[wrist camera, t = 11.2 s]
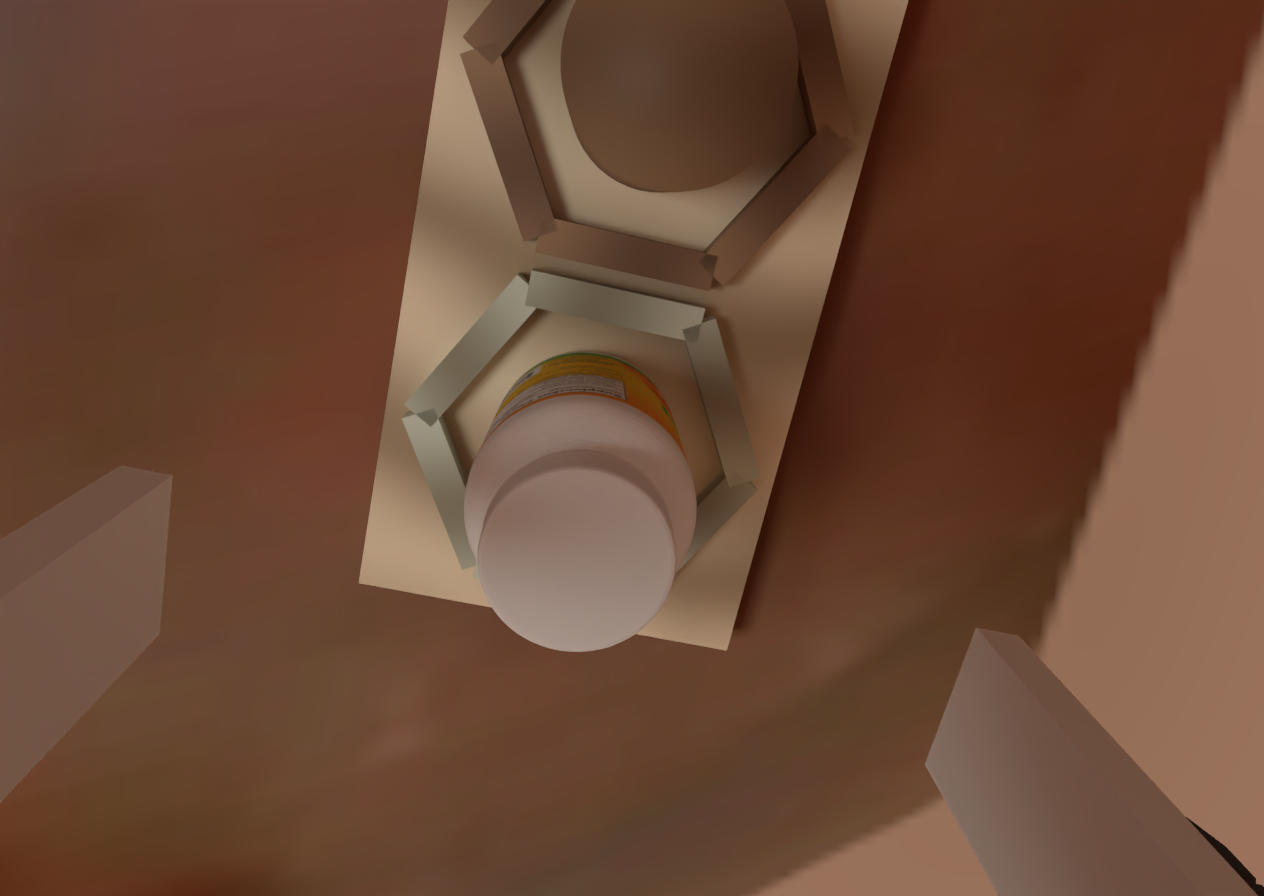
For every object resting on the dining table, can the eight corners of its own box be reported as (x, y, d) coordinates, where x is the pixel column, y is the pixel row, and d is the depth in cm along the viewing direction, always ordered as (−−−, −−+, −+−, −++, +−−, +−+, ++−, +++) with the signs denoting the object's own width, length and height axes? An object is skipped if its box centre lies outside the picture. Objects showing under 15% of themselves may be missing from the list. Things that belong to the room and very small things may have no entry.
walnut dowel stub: (589, -24, 23) (587, -95, 18) (770, 23, 24) (826, -32, 18) (552, 169, 25) (539, 161, 19) (725, 210, 25) (764, 215, 19)
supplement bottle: (677, 514, 28) (717, 677, 18) (503, 524, 28) (455, 693, 18) (670, 342, 26) (710, 424, 17) (487, 353, 26) (425, 441, 17)
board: (487, -186, 24) (477, -224, 21) (912, -69, 25) (943, -95, 23) (370, 563, 29) (352, 594, 27) (720, 629, 30) (730, 662, 28)
